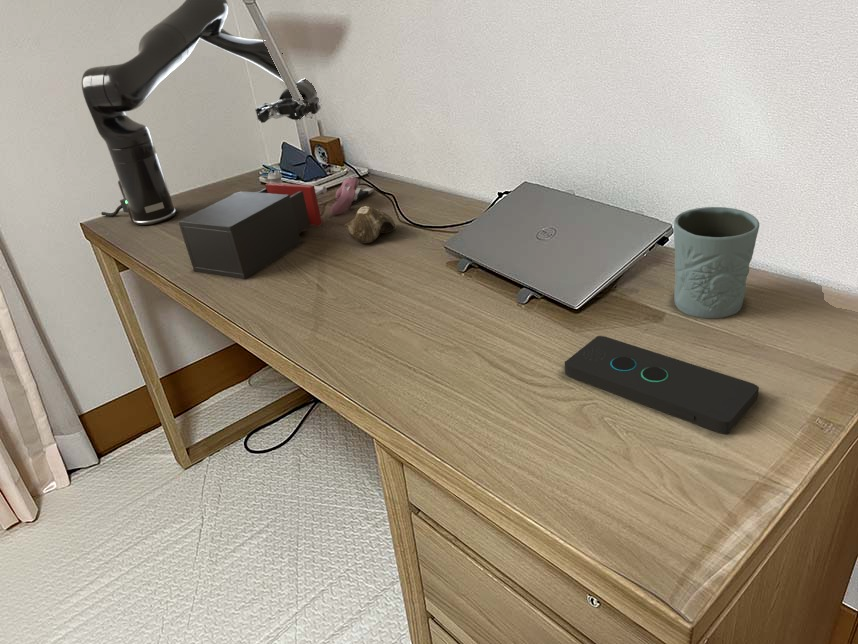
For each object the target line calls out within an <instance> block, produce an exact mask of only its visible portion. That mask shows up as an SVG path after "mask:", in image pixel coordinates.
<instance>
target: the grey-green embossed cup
mask: <svg viewBox="0 0 858 644" xmlns="http://www.w3.org/2000/svg"><path fill="white" fill-rule="evenodd" d="M759 230H760V221H759V219H758V218H757V217H756V216H754V214H751V213H750V212H748V211H745V210H742V209H737V208H732V207H725V206H704V207H697V208H692V209H688V210H685V211H683V212H681V213H679V214H678V215H677V216H676V217H675V218H674V221H673V243H674V267H673V268H674V272H675V274H674V287H673V290H674V292H673V295H674V296H673V299H674V304H675V306H676V308H677V309H678V311H681V312H682V313H684V314H686V315H689V316H692V317H694V318H695V317H696V318H700V319H701V318H702V319H723V318H727V317H730V316H734V315H735V314H737V313H738V312H739V311H740V310H741V309H742V307H743V303H744V299H745V295H746V288H747V280H748V276H749V273H750V263H751V261H752V259H753V254H754V251H755V247H756V242H757V237H758V234H759Z"/></svg>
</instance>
